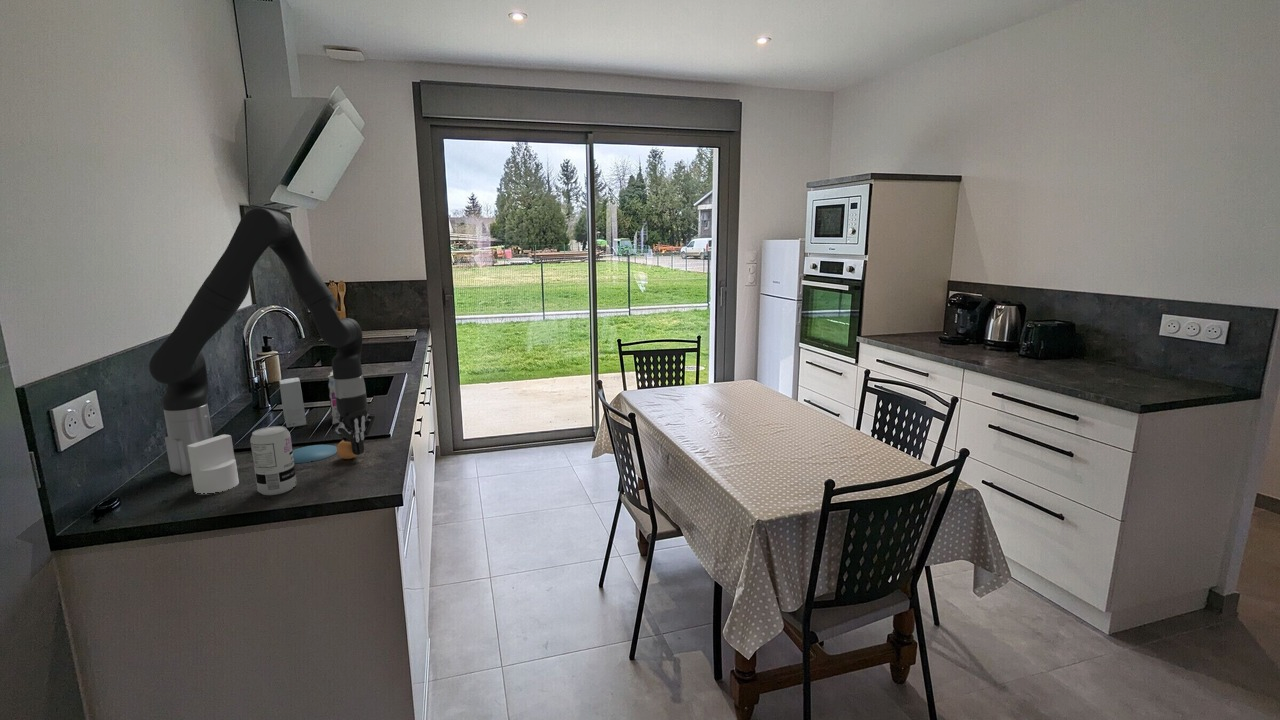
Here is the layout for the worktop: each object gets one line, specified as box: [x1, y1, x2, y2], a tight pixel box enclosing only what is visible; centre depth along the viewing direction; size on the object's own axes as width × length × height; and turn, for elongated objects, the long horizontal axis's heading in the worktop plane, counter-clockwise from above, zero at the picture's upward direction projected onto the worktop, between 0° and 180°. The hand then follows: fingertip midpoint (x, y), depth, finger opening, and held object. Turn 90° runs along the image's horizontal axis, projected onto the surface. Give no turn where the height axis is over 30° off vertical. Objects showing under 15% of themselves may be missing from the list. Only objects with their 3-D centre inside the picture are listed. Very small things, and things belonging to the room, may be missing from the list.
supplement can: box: [249, 425, 298, 496], centre depth 142 cm, size 8×8×15 cm
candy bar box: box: [327, 370, 340, 425], centre depth 197 cm, size 11×5×16 cm, turn 21°
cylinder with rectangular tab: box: [187, 434, 240, 495], centre depth 144 cm, size 9×9×12 cm
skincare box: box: [278, 377, 308, 428], centre depth 193 cm, size 8×6×15 cm
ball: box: [336, 439, 357, 460], centre depth 163 cm, size 6×6×6 cm
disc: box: [292, 444, 338, 464], centre depth 167 cm, size 14×14×1 cm
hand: (358, 453), depth 161 cm, fingers closed
